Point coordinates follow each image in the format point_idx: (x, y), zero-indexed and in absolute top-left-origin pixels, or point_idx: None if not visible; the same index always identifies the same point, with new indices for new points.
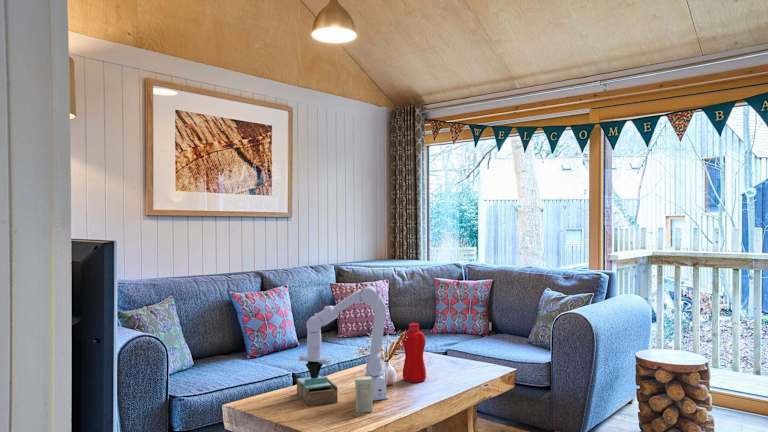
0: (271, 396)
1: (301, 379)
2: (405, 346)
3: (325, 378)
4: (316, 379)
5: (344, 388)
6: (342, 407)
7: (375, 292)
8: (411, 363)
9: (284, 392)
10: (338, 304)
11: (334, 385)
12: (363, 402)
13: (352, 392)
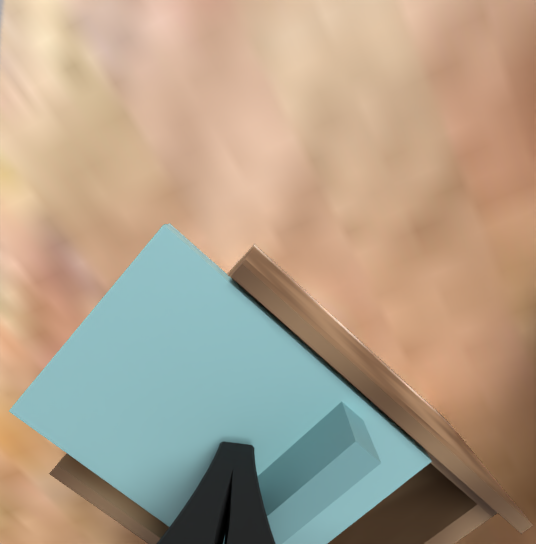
0: (10, 464)
1: (64, 417)
2: None
3: (363, 471)
4: (287, 534)
5: (368, 116)
6: (511, 483)
7: None
8: None
9: (20, 375)
10: None
11: (488, 500)
12: None
13: (473, 192)
